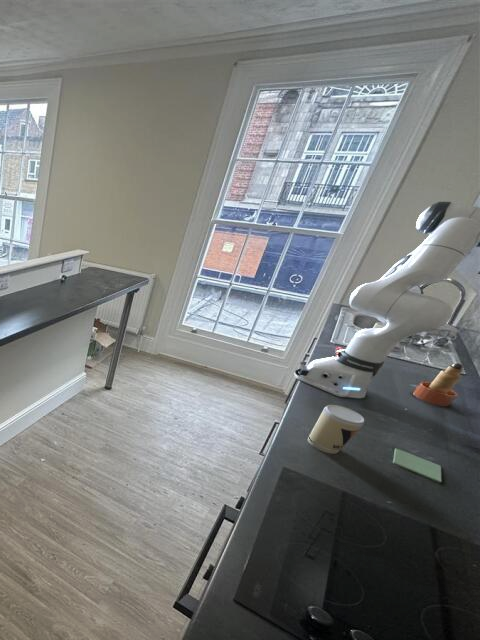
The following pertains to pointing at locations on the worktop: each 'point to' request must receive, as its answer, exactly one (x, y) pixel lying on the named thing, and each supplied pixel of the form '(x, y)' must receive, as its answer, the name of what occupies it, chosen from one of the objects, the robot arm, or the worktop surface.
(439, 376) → the pepper mill
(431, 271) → the robot arm
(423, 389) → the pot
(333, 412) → the coffee cup
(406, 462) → the plate
